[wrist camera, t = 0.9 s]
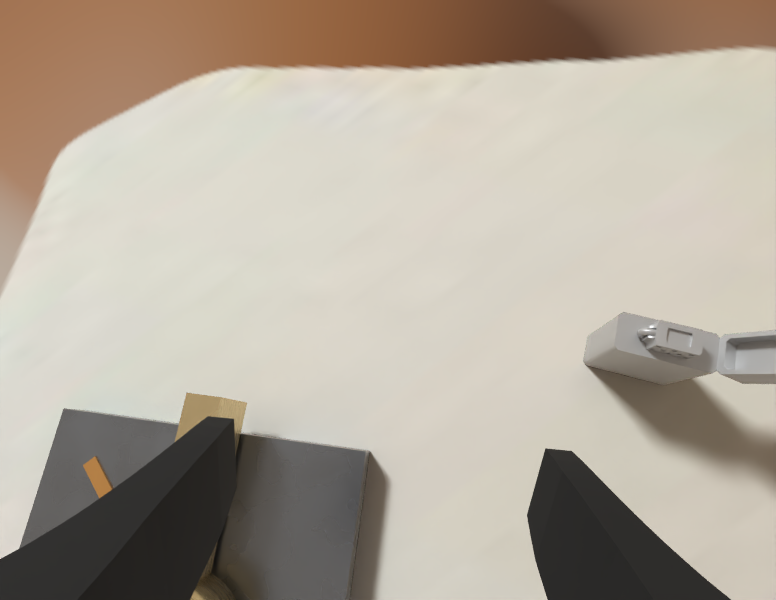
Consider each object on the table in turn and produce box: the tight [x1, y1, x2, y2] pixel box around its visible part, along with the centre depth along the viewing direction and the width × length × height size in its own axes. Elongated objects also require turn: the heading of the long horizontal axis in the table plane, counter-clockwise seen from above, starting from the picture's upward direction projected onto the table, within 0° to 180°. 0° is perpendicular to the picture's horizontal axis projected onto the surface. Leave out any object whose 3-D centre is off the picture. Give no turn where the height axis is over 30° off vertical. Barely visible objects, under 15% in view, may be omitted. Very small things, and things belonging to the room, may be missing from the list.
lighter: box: [583, 312, 776, 385], centre depth 20 cm, size 7×2×8 cm, turn 73°
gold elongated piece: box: [175, 393, 247, 600], centre depth 20 cm, size 14×6×3 cm, turn 172°
